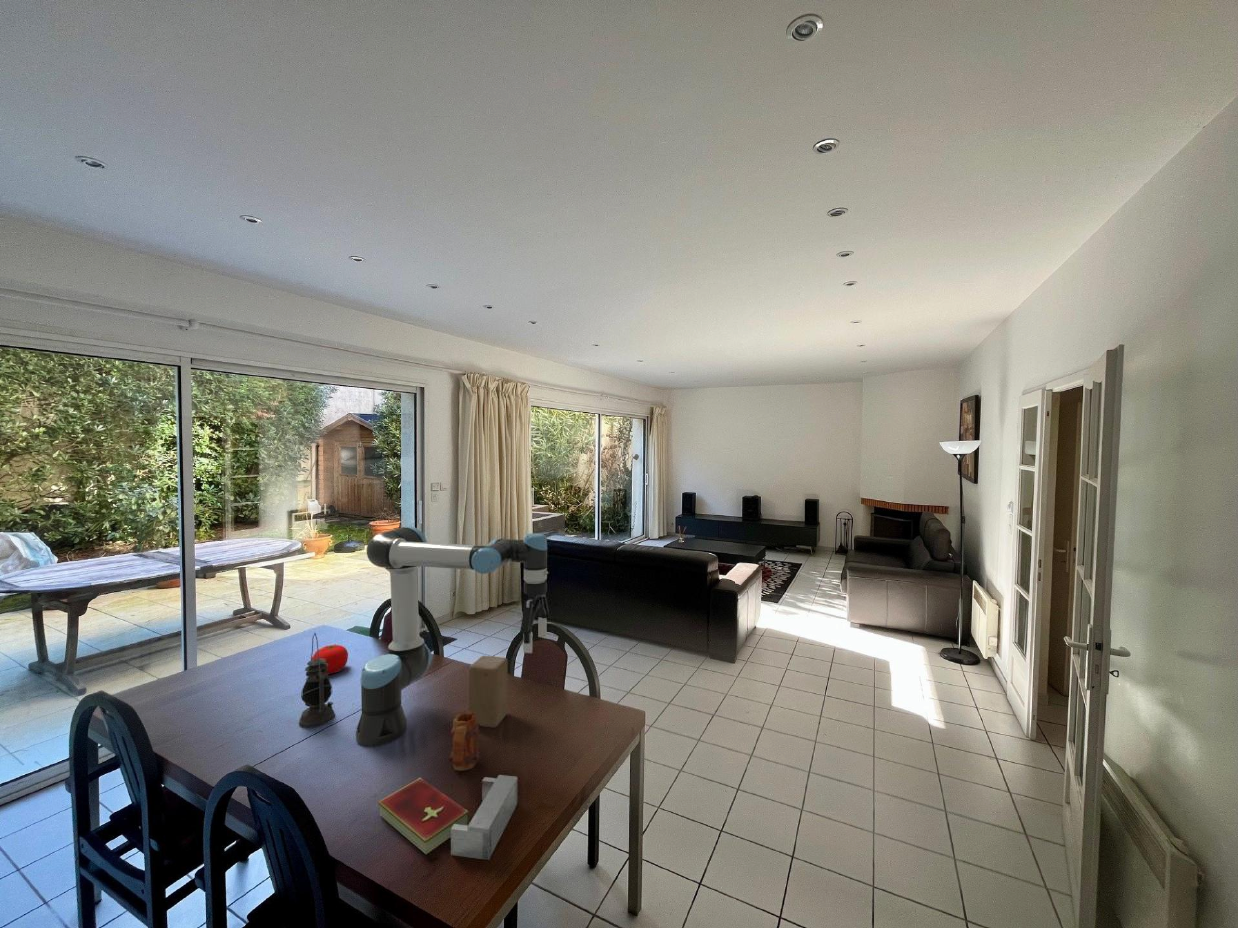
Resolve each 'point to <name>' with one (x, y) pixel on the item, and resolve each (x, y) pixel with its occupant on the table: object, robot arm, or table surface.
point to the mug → (464, 741)
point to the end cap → (486, 819)
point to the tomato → (333, 657)
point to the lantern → (316, 694)
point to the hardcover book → (423, 814)
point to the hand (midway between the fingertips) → (535, 644)
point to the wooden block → (488, 690)
